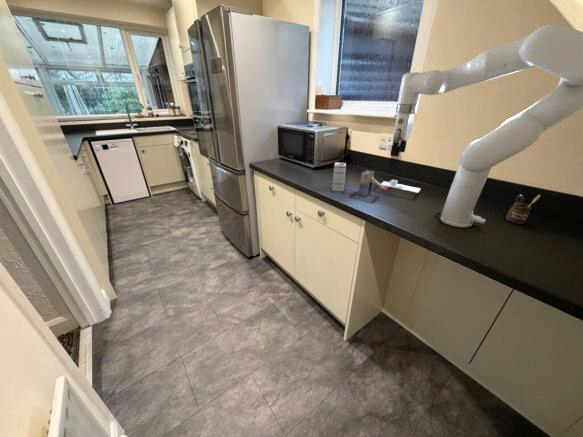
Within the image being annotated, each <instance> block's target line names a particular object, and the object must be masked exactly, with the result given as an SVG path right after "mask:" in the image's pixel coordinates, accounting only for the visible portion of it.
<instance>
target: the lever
mask: <svg viewBox="0 0 583 437" xmlns="http://www.w3.org/2000/svg"><path fill="white" fill-rule="evenodd" d="M366 173H369V172H366ZM371 176H372V175H371ZM371 180H372V181H373V184H375V185H376V186H378V187H379V188H381V193H385V192H386V191H388V190H389V186H385V185H382V184H381V183H380V182H379V181H378V180H376V179H375V177H374V178H372V177H371Z"/></svg>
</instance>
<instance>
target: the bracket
mask: <svg viewBox="0 0 583 437" xmlns="http://www.w3.org/2000/svg"><path fill="white" fill-rule="evenodd" d="M366 172H369V173H366ZM375 173H376V171H373V170H368V169H365V170H364V171H362V172H361V175H360V183H359V188H358V194H357V195H358V196H359V197H363V198H368V196H371V195H372V190H373V185H374V182H373V181H372V180H371V177H372V178H374V179H375ZM371 175H372V176H371Z"/></svg>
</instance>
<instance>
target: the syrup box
mask: <svg viewBox="0 0 583 437" xmlns="http://www.w3.org/2000/svg"><path fill="white" fill-rule="evenodd" d="M346 169H347V162H339V161H338V162H334V165H333V178H332V191H333V192H334V191H335V192H344V190H345V182H346V172H347V170H346Z"/></svg>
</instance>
